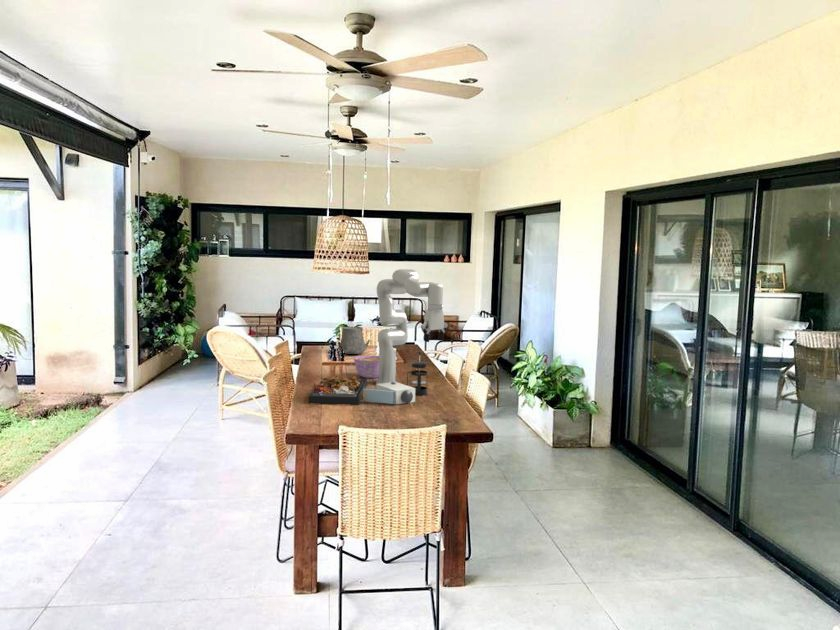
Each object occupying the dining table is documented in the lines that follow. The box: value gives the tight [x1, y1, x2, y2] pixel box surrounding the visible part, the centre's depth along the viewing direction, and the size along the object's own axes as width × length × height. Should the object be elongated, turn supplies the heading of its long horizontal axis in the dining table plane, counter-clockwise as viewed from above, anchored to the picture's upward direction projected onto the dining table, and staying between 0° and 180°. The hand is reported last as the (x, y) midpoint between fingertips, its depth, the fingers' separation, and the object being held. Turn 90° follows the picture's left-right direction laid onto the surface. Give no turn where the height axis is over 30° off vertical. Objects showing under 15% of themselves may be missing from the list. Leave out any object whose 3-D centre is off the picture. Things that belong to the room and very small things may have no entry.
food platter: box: [308, 375, 368, 406], centre depth 332 cm, size 45×25×10 cm, turn 0°
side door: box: [362, 388, 397, 405], centre depth 313 cm, size 17×2×6 cm, turn 72°
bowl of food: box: [353, 355, 379, 379], centre depth 380 cm, size 20×20×12 cm
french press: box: [406, 350, 429, 397], centre depth 337 cm, size 12×9×23 cm
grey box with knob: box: [375, 381, 416, 406], centre depth 323 cm, size 20×12×8 cm, turn 37°
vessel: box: [339, 326, 371, 355], centre depth 462 cm, size 22×22×20 cm
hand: (434, 341), depth 323 cm, fingers open, 9 cm apart
